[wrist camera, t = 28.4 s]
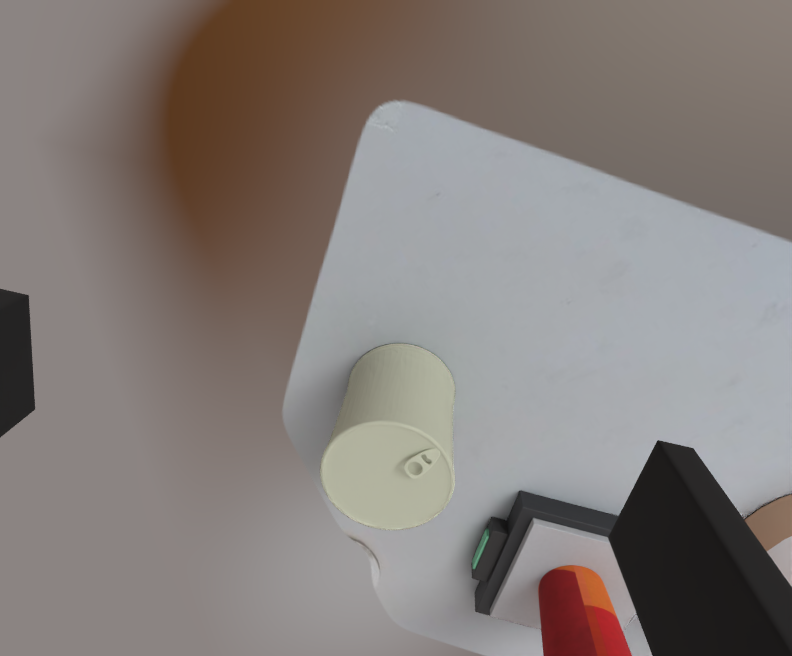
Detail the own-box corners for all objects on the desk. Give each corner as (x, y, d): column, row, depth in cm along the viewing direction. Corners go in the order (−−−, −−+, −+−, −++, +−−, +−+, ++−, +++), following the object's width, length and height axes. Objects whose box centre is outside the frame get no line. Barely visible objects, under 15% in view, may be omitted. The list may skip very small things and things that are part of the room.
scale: (458, 588, 56) (458, 614, 54) (501, 485, 50) (504, 508, 48) (605, 627, 56) (613, 654, 54) (666, 528, 51) (678, 553, 48)
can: (476, 403, 47) (483, 500, 36) (391, 452, 50) (374, 555, 39) (412, 322, 45) (399, 400, 34) (326, 378, 47) (289, 467, 37)
